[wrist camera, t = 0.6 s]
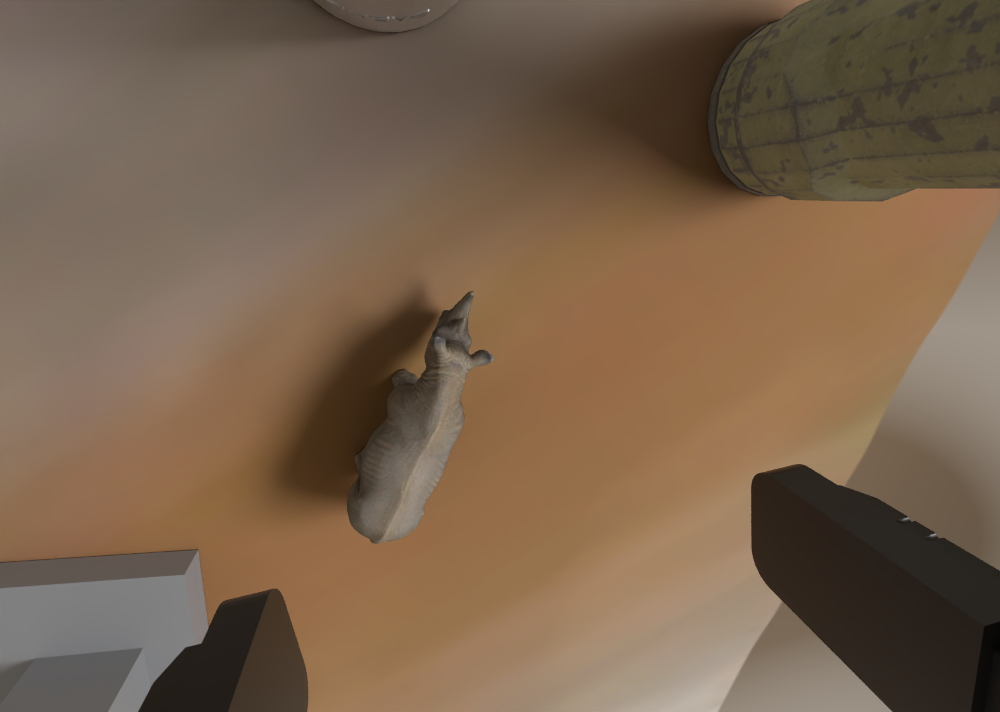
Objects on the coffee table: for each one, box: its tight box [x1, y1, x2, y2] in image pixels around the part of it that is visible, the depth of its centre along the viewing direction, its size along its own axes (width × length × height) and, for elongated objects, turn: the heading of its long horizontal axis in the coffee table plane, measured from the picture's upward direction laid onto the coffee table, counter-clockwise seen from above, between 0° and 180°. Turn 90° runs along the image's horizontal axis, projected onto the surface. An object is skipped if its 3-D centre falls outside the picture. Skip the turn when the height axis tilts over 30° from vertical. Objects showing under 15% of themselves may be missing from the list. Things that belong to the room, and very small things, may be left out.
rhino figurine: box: [347, 291, 494, 544], centre depth 26 cm, size 4×14×6 cm, turn 155°
